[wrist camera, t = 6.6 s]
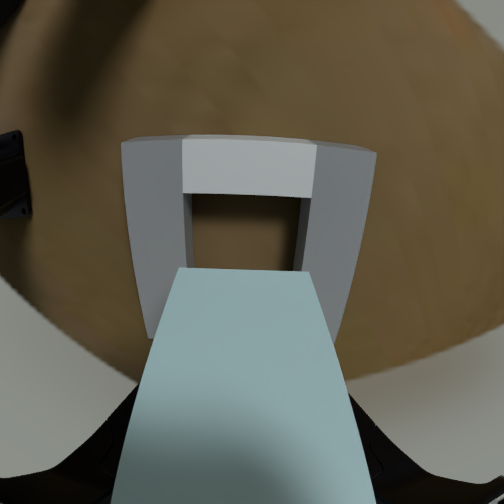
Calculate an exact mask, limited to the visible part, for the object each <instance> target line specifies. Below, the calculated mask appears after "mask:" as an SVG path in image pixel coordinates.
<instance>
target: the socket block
mask: <svg viewBox="0 0 504 504" xmlns="http://www.w3.org/2000/svg"><path fill="white" fill-rule="evenodd" d="M121 152H122V170H123V183H124V195H125V205H126V214H127V223H128V231H129V238H130V245H131V252H132V259H133V265H134V271H135V277H136V282H137V288H138V293H139V298H140V303H141V308H142V313H143V317H144V322H145V326H146V331H147V335H148V338H150V339H154V338H155V334H156V331H157V328H158V325H159V322H160V319H161V317H162V314H163V311H164V308H165V305H166V302H167V299H168V296H169V293H170V291H171V288H172V285H173V282H174V280H175V277H176V274H177V271H178V269H179V267H180V268H195V267H194V247H193V222H192V193H210V194H245V195H268V196H287V197H301V207H300V215H299V224H298V233H297V241H296V249H295V257H294V264H293V271H305V272H309V273H310V276H311V279H312V282H313V285H314V288H315V291H316V294H317V297H318V300H319V303H320V306H321V309H322V312H323V315H324V318H325V321H326V324H327V327H328V330H329V333H330V336H331V339H332V343H333V344H334V343H335V340H336V336H337V333H338V330H339V327H340V323H341V320H342V316H343V313H344V309H345V306H346V302H347V298H348V295H349V291H350V287H351V283H352V279H353V275H354V271H355V267H356V263H357V259H358V254H359V250H360V245H361V241H362V236H363V231H364V226H365V221H366V216H367V211H368V206H369V200H370V194H371V188H372V182H373V176H374V169H375V163H376V155H377V153H376V152H373V151H371V150H368V149H366V148H363V147H361V146H355V145H348V144H341V143H333V142H325V141H316V140H306V139H295V138H282V137H267V136H246V135H167V136H147V137H136V138H133V139H130V140H127V141H124V142H121Z"/></svg>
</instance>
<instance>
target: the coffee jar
mask: <svg viewBox="0 0 504 504" xmlns="http://www.w3.org/2000/svg"><path fill="white" fill-rule="evenodd" d="M20 1H21V0H0V26H1V25H2V24H3V23H4V21H5V20H6V19H7V18H8V17H9V16H10V15H11V14H12V12H13V11H14V9H15V8H16V6H17V5H18V4H19V2H20Z"/></svg>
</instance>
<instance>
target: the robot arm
mask: <svg viewBox="0 0 504 504" xmlns="http://www.w3.org/2000/svg"><path fill="white" fill-rule="evenodd" d="M15 135H16V138H15ZM25 210H26V211H25ZM30 214H31V205H30V199H29V194H28V187H27V180H26V173H25V165H24V155H23V143H22V133H21V131H19V130H15V131H12V132H8V133H5V134H1V135H0V219H3V218H25V217H28V216H29V215H30ZM140 383H141V382H140ZM140 383H139V384H138V385H137V386H136V387H135V388H134V389H133V391H132V392H131V393H130V394H129V395H128V396H127V398H126V399H125V400H124V401H123V402H122V403H121V404H120V405H119V406H118V408H117V409H116V410H115V411H114V412H113V413H112V414H111V415H110V416H109V417H108V419H107V420H108V421H107V420H106V421H105V422H104V423H103V424H102V425H101V427H99V428H98V429H97V431H96V432H95V433H94V434H93V435H92V436H91V437H90V438H89V439H88V440H86V441H85V442H84V443H83V444H82V445H81V446H80V447H78V448H77V449H76V450H75V451H74V452H73V453H71V454H70V455H69V456H68V457H67V458H65V459H64V460H63V461H62V462H61V463H59V464H58V465H56V466H55V467H53V468H51V469H48V470H45V471H41V472H36V473H32V474H27V475H21V476H16V477H10V478H0V504H111V499H112V494H113V489H114V484H115V480H116V475H117V471H118V466H119V462H120V458H121V454H122V449H123V445H124V441H125V437H126V433H127V430H128V426H129V422H130V418H131V414H132V411H133V407H134V404H135V400H136V396H137V393H138V389H139V386H140ZM348 396H349V399H350V402H351V406H352V410H353V413H354V417H355V420H356V424H357V428H358V431H359V435H360V439H361V443H362V447H363V450H364V454H365V458H366V462H367V466H368V470H369V475H370V479H371V483H372V487H373V492H374V496H375V501H376V504H504V497H503V498H501V499H500V500H498V501H497V498H498V497H499V496H501V495H502V494H504V476H502V475H500V476H498V477H497V478H495V479H494V480H492V481H491V482H488V483H484V484H474V483H468V482H463V481H458V480H452V479H448V478H444V477H440V476H435V475H433V474H431V473H429V472H427V471H425V470H424V469H422V468H421V467H420V466H419V465H418V464H417V463H415V462H414V461H413V460H412V459H411V458H409V457H408V456H407V455H406V454H405V453H404V452H403V451H401V450H400V449H399V448H398V447H397V446H396V445H395V444H394V443H393V442H392V441H391V440H390V439H389V438H388V437H387V436H386V435H385V434H384V433H383V432H382V431H381V430H380V429H379V427H378V426H377V425H376V426H375V423H374V422H373V421H372V420H371V419H370V417H369V416H368V415H367V414H366V413H365V412H364V410H363V409H362V408H361V407H360V406H359V405H358V404H357V402H356V401H355V400H354V399H353V398H352V397H351V395H350V394H349V393H348Z"/></svg>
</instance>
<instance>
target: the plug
mask: <svg viewBox="0 0 504 504" xmlns="http://www.w3.org/2000/svg"><path fill="white" fill-rule="evenodd" d="M111 504H376V501H375V496H374V492H373V487H372V483H371V479H370V475H369V470H368V466H367V462H366V458H365V454H364V450H363V447H362V443H361V439H360V435H359V431H358V428H357V424H356V420H355V417H354V413H353V410H352V406H351V402H350V399H349V396H348V392H347V389H346V385H345V382H344V378H343V375H342V372H341V368H340V365H339V362H338V359H337V355H336V352H335V349H334V346H333V343H332V339H331V336H330V333H329V330H328V327H327V324H326V321H325V318H324V315H323V312H322V309H321V306H320V303H319V300H318V297H317V294H316V291H315V288H314V285H313V282H312V279H311V276H310V273H309V272H305V271H265V270H233V269H205V268H180V267H179V269H178V271H177V274H176V277H175V280H174V282H173V285H172V288H171V291H170V293H169V296H168V299H167V302H166V305H165V308H164V311H163V314H162V317H161V319H160V322H159V325H158V328H157V331H156V334H155V338H154V341H153V344H152V347H151V350H150V353H149V356H148V360H147V363H146V366H145V369H144V373H143V376H142V379H141V383H140V386H139V389H138V393H137V396H136V400H135V404H134V407H133V411H132V414H131V418H130V422H129V426H128V430H127V433H126V437H125V441H124V445H123V449H122V454H121V458H120V462H119V466H118V471H117V475H116V480H115V484H114V489H113V494H112V499H111Z"/></svg>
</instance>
